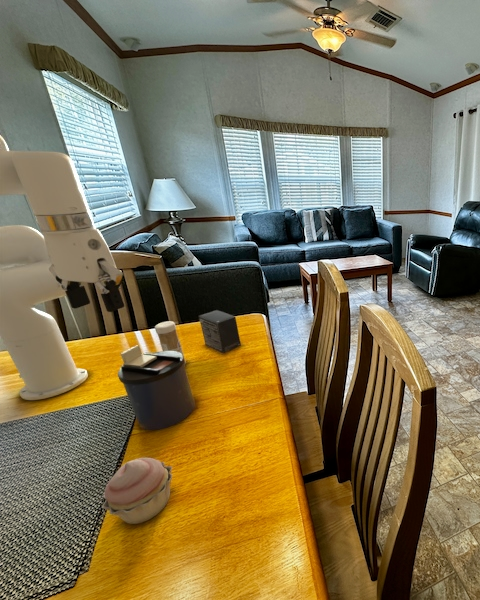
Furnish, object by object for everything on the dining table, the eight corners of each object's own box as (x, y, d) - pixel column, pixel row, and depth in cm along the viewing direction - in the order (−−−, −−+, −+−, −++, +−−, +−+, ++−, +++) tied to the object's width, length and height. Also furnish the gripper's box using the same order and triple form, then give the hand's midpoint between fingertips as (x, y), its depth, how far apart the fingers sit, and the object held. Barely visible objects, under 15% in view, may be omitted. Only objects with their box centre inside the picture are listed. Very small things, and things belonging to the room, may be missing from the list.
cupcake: (124, 491, 57) (104, 448, 53) (185, 475, 60) (170, 433, 57) (100, 544, 49) (75, 498, 45) (172, 522, 52) (154, 477, 48)
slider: (123, 366, 70) (119, 353, 69) (141, 356, 74) (136, 344, 73) (140, 368, 69) (136, 356, 68) (157, 358, 73) (153, 346, 72)
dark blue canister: (123, 427, 72) (101, 373, 67) (168, 393, 82) (152, 345, 77) (167, 434, 70) (148, 379, 64) (208, 399, 80) (194, 350, 75)
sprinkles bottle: (186, 367, 93) (174, 325, 88) (167, 372, 91) (154, 329, 86) (186, 360, 97) (174, 319, 92) (167, 364, 95) (154, 323, 90)
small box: (243, 345, 105) (236, 315, 101) (223, 354, 100) (216, 323, 96) (223, 337, 110) (217, 308, 106) (204, 345, 105) (196, 315, 101)
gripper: (124, 221, 63) (149, 304, 70) (54, 219, 67) (85, 298, 73) (81, 227, 57) (114, 318, 63) (6, 224, 60) (45, 311, 66)
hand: (98, 307), depth 68 cm, fingers open, 8 cm apart
